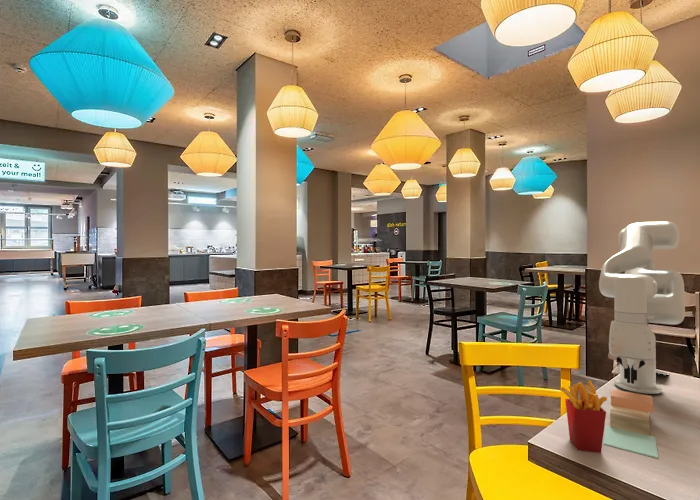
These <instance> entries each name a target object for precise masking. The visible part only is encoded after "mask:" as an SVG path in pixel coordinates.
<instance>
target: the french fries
mask: <svg viewBox="0 0 700 500" xmlns="http://www.w3.org/2000/svg"><path fill="white" fill-rule="evenodd" d="M586 382H587V384H585V385H584V384H583V383H582V382H581V381H580V382H576V383H574V384H573V385H572V386H571V385H568V386H567V387H568V389H569V390H568V389H567V388H565V387H563V386H561V388H560V390H559V391H561V392H562V393H563V394H565V395H566V397H568V398H565V399H564V401H565V409H566V417H567V424H568V436H569V440H570V442H571V444H573V446H574V447H575V449H576V451H580V452H581V451H582V452H590V453H600V454H601V453H602V450H603V449H602V448H603V443H604V435H605V426H606V425H605V424H606V415H607V411H606V410H605V409H603V407H602V405H603V403H604V402H606V401H608V397H607V396H601V397H600V398H599V396H598V394H597V390H596V388H595V387H594V384H593V383H592V381H591V380H588V381H586Z"/></svg>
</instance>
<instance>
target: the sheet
mask: <svg viewBox="0 0 700 500" xmlns="http://www.w3.org/2000/svg"><path fill="white" fill-rule="evenodd" d="M649 415H650V414H649V412H644V411H639V410H634V409H629V408H624V407H619V406H614V405H611V404H610V409H609V425H610V426H609V427H613V428H617V429H622V430H626V431H631V432H635V433H639V434H644V435H648V436H651V435H650V434H651V433H650V431H651V430H650V427H651V426H650V425H651V423H650V416H649Z"/></svg>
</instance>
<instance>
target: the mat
mask: <svg viewBox="0 0 700 500" xmlns="http://www.w3.org/2000/svg"><path fill="white" fill-rule="evenodd" d="M603 446H608V447H612V448H615V449H620V450H622V451H628V452H630V453H635V454H639V455H643V456H647V457H650V458H654V459H659V454H658V448H657V441H656V437H655V436H652V435H650V436H648V435H644V434H639V433H635V432H631V431H626V430H622V429H617V428H613V427H610V426H609V425H605V426H604V435H603Z"/></svg>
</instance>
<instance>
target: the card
mask: <svg viewBox="0 0 700 500" xmlns="http://www.w3.org/2000/svg"><path fill="white" fill-rule="evenodd" d="M611 405H614V406H619V407H624V408H629V409H634V410H639V411H644V412H648V414H649V413H650V414H654V400H653V396H652V395H649V394H643V393H638V392H632V391H624V390H620V389H619V390H618V389H614V388H611V390H610V406H611Z"/></svg>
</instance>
